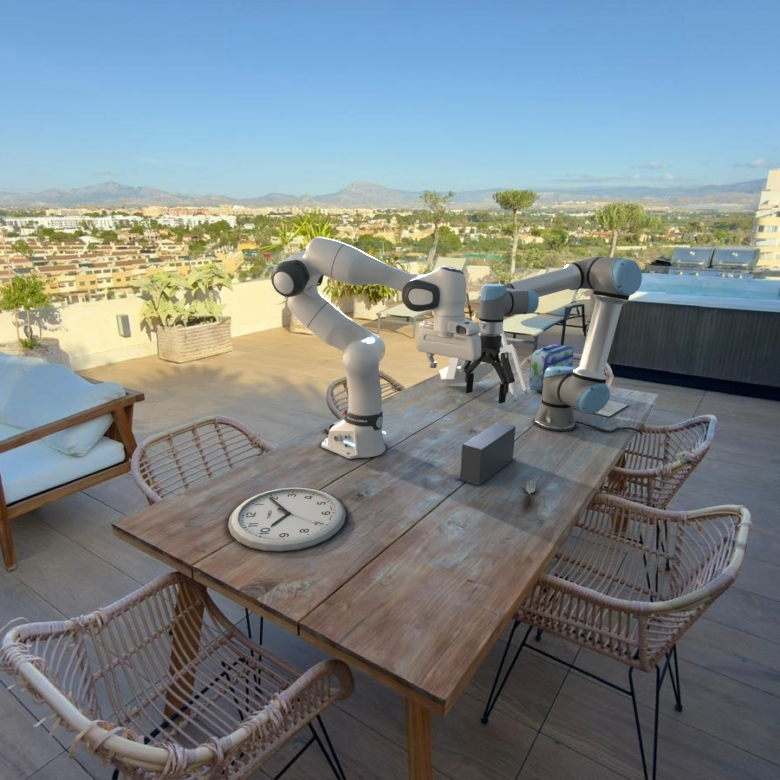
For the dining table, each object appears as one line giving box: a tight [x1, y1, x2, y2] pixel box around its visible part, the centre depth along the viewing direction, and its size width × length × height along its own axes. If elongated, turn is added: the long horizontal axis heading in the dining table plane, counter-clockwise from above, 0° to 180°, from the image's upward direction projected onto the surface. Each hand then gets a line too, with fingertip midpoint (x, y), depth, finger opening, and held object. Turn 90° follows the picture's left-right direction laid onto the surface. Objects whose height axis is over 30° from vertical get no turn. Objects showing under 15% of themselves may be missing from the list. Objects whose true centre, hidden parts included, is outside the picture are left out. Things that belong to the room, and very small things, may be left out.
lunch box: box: [528, 344, 574, 393], centre depth 247 cm, size 26×11×21 cm, turn 134°
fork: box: [525, 478, 537, 511], centre depth 148 cm, size 3×16×2 cm, turn 160°
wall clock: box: [227, 487, 347, 552], centre depth 136 cm, size 30×2×30 cm
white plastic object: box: [438, 330, 531, 400], centre depth 245 cm, size 37×45×31 cm
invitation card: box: [595, 399, 629, 418], centre depth 226 cm, size 21×1×15 cm
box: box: [459, 421, 516, 487], centre depth 164 cm, size 24×6×12 cm, turn 143°
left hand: (446, 370), depth 155 cm, fingers open, 8 cm apart
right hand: (485, 397), depth 172 cm, fingers open, 13 cm apart
